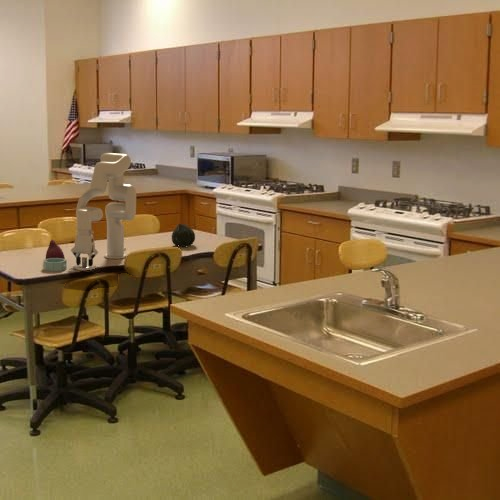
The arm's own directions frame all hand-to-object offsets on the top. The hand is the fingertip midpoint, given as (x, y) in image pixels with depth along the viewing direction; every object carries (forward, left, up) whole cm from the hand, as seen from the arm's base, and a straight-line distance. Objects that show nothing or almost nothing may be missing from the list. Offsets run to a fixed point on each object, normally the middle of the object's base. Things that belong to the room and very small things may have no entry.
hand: (84, 265), depth 389 cm
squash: (-82, +24, -2) cm, 85 cm away
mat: (0, 0, -2) cm, 2 cm away
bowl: (+8, -13, -2) cm, 15 cm away
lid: (0, 0, -2) cm, 2 cm away
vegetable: (-7, -22, -2) cm, 23 cm away
